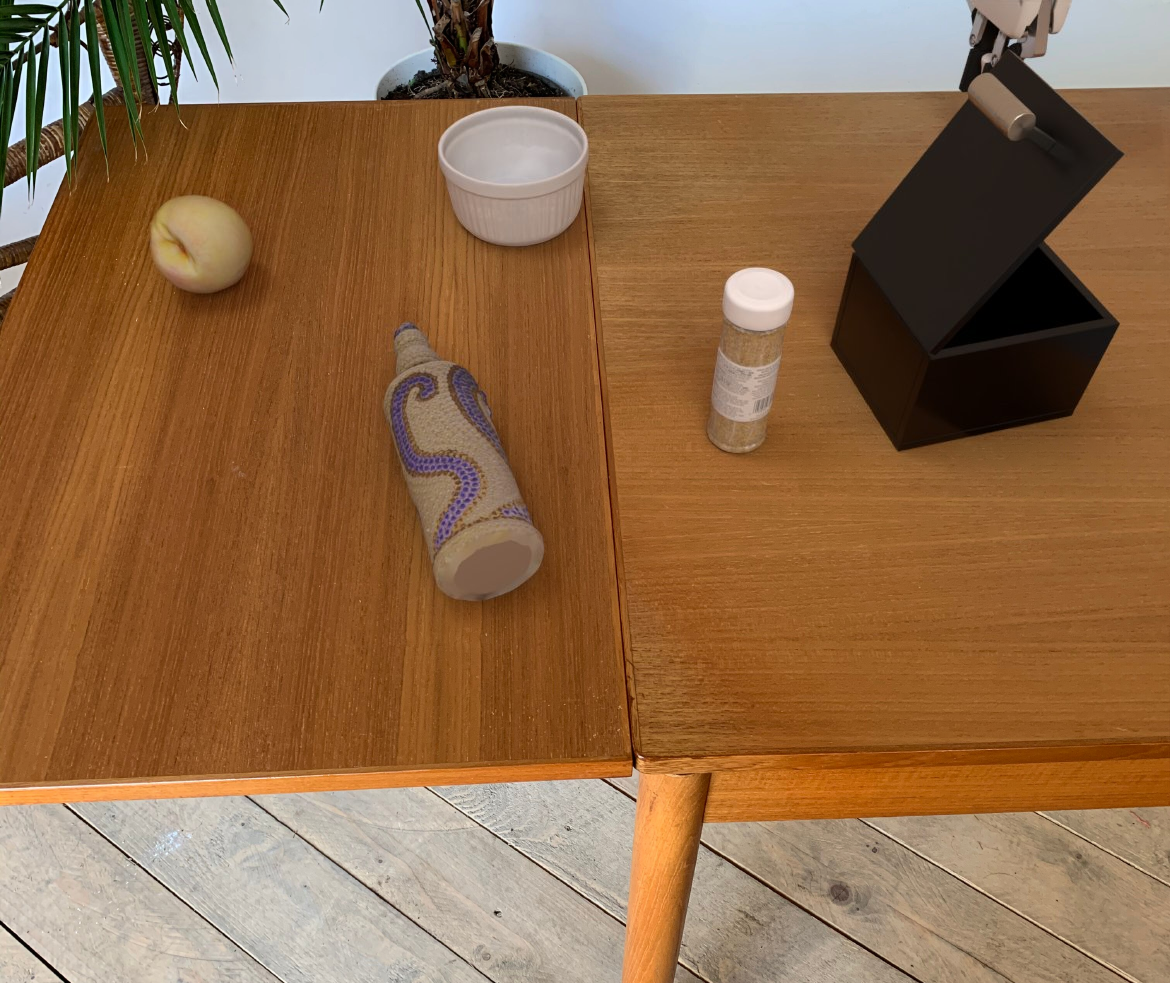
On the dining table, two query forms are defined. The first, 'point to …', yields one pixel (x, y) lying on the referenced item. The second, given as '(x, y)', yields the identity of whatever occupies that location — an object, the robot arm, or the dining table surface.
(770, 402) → the spice jar
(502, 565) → the decorative bottle
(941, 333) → the bin lid
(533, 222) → the ramekin
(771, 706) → the dining table surface
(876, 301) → the bin
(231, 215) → the fruit
